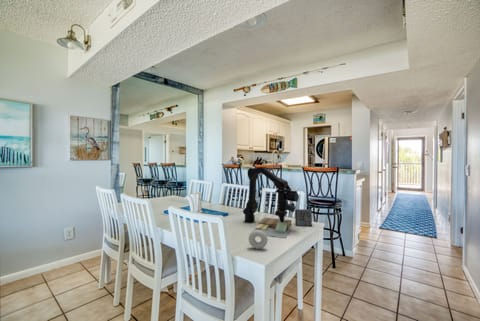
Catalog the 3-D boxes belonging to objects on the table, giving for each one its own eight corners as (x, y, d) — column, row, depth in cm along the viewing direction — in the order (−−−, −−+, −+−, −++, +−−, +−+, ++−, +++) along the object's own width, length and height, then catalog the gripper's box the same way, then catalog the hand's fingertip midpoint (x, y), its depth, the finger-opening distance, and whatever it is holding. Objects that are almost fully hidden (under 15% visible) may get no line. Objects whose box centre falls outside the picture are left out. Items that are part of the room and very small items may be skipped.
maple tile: (256, 230, 149) (256, 227, 149) (260, 226, 156) (259, 224, 156) (265, 231, 146) (265, 228, 146) (268, 227, 154) (268, 225, 154)
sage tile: (275, 231, 145) (275, 229, 145) (278, 224, 152) (277, 221, 152) (285, 233, 143) (285, 230, 143) (287, 225, 150) (287, 222, 150)
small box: (310, 223, 164) (310, 209, 164) (312, 226, 158) (312, 211, 157) (295, 223, 165) (295, 208, 165) (296, 226, 159) (296, 211, 158)
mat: (250, 233, 143) (250, 233, 143) (256, 227, 156) (256, 226, 156) (285, 238, 135) (285, 237, 135) (289, 231, 148) (289, 230, 148)
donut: (248, 249, 119) (248, 230, 119) (249, 246, 123) (249, 228, 123) (267, 250, 118) (267, 231, 118) (267, 248, 121) (267, 229, 121)
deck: (258, 227, 157) (258, 222, 156) (264, 221, 170) (264, 217, 170) (288, 230, 149) (288, 225, 149) (291, 224, 162) (291, 220, 162)
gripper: (292, 203, 139) (292, 228, 140) (296, 198, 157) (296, 220, 157) (274, 202, 143) (274, 226, 144) (280, 197, 161) (280, 219, 161)
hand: (282, 223), depth 151 cm, fingers closed
